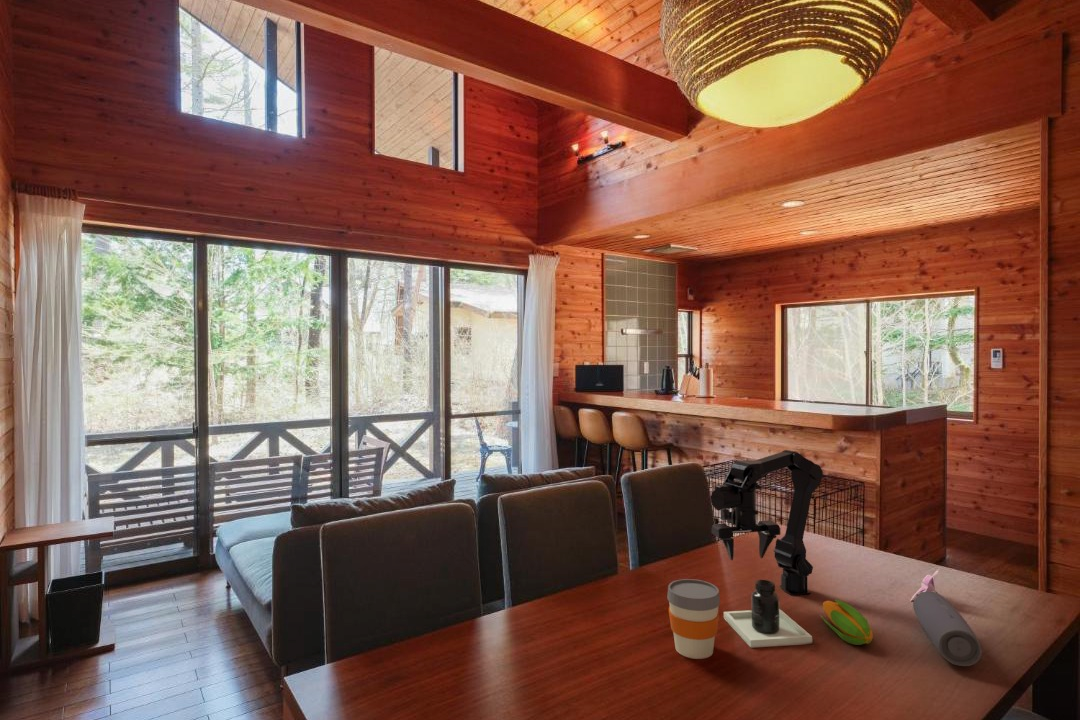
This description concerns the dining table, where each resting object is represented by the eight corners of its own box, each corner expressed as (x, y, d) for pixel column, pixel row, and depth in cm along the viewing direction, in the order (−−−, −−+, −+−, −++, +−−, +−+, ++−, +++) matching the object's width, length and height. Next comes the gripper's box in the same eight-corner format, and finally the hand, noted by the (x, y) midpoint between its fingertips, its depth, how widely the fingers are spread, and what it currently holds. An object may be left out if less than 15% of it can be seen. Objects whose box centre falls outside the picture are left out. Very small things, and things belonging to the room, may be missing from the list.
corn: (852, 621, 139) (810, 587, 159) (850, 652, 139) (809, 615, 159) (882, 622, 139) (837, 589, 159) (880, 653, 139) (835, 616, 159)
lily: (931, 594, 174) (912, 564, 176) (969, 592, 164) (949, 561, 166) (911, 615, 168) (891, 584, 170) (948, 615, 158) (927, 582, 160)
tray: (779, 615, 159) (779, 608, 159) (812, 643, 143) (812, 636, 143) (723, 618, 158) (723, 611, 158) (750, 647, 142) (750, 640, 142)
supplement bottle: (783, 634, 147) (783, 588, 147) (756, 634, 147) (756, 588, 147) (773, 622, 154) (773, 577, 154) (748, 622, 154) (747, 577, 154)
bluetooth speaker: (985, 675, 128) (985, 630, 128) (936, 668, 131) (936, 624, 131) (952, 629, 150) (952, 591, 149) (910, 624, 153) (910, 587, 153)
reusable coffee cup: (692, 668, 133) (691, 603, 133) (657, 644, 144) (656, 584, 144) (732, 654, 139) (731, 592, 139) (695, 632, 150) (694, 575, 150)
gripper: (761, 496, 177) (762, 547, 177) (703, 500, 174) (704, 551, 174) (780, 506, 166) (782, 560, 166) (719, 510, 163) (720, 564, 163)
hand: (746, 558), depth 168 cm, fingers open, 9 cm apart
